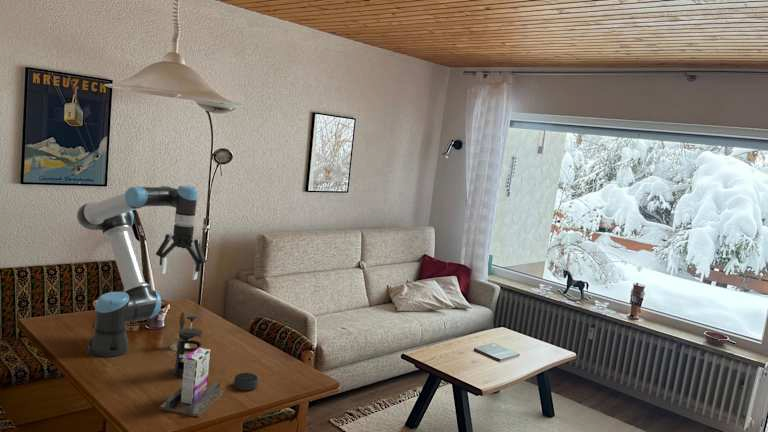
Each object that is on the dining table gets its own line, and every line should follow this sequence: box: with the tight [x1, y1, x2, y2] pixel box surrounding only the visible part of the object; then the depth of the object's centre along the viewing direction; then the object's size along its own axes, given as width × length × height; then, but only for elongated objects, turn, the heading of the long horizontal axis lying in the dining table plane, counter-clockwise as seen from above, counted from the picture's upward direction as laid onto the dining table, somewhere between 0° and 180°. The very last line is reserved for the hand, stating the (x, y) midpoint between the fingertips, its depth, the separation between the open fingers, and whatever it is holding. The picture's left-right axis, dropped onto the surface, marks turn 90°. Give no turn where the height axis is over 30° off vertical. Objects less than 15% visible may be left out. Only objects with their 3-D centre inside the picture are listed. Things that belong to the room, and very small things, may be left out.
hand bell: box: [169, 311, 191, 352], centre depth 251 cm, size 8×8×16 cm
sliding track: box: [159, 381, 225, 418], centre depth 206 cm, size 14×21×4 cm, turn 172°
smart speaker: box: [233, 372, 259, 392], centre depth 223 cm, size 9×9×4 cm
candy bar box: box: [181, 347, 212, 405], centre depth 205 cm, size 11×5×16 cm, turn 172°
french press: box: [172, 315, 204, 379], centre depth 226 cm, size 12×9×23 cm
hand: (178, 276), depth 235 cm, fingers open, 13 cm apart
